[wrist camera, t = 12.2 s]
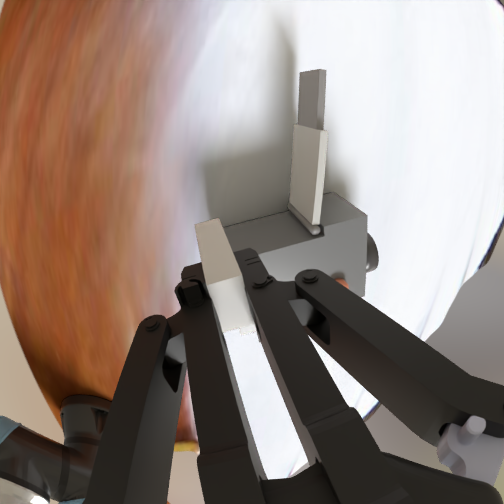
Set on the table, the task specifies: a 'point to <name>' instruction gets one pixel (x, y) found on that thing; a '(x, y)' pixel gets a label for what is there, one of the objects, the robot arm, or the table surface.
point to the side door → (309, 151)
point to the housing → (311, 245)
